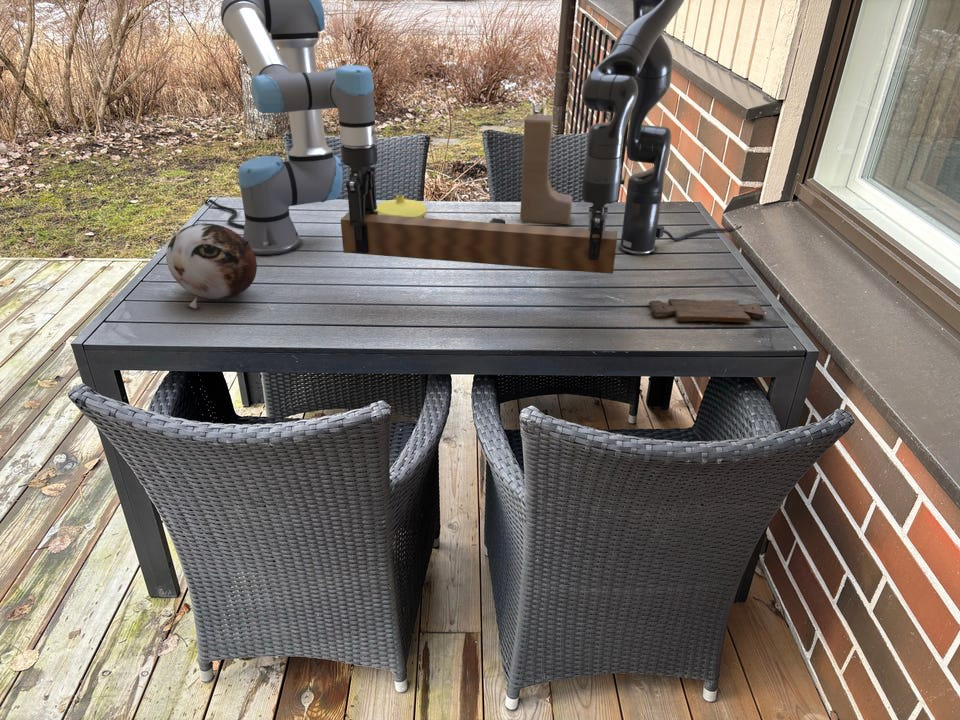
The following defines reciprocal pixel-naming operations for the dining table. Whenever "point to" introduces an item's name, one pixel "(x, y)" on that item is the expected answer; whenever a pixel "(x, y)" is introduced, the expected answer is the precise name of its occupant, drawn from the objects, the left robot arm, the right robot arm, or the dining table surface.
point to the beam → (482, 243)
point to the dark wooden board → (706, 310)
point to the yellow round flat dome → (402, 208)
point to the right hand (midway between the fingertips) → (593, 254)
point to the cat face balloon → (211, 261)
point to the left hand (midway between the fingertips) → (366, 247)
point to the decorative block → (540, 176)
